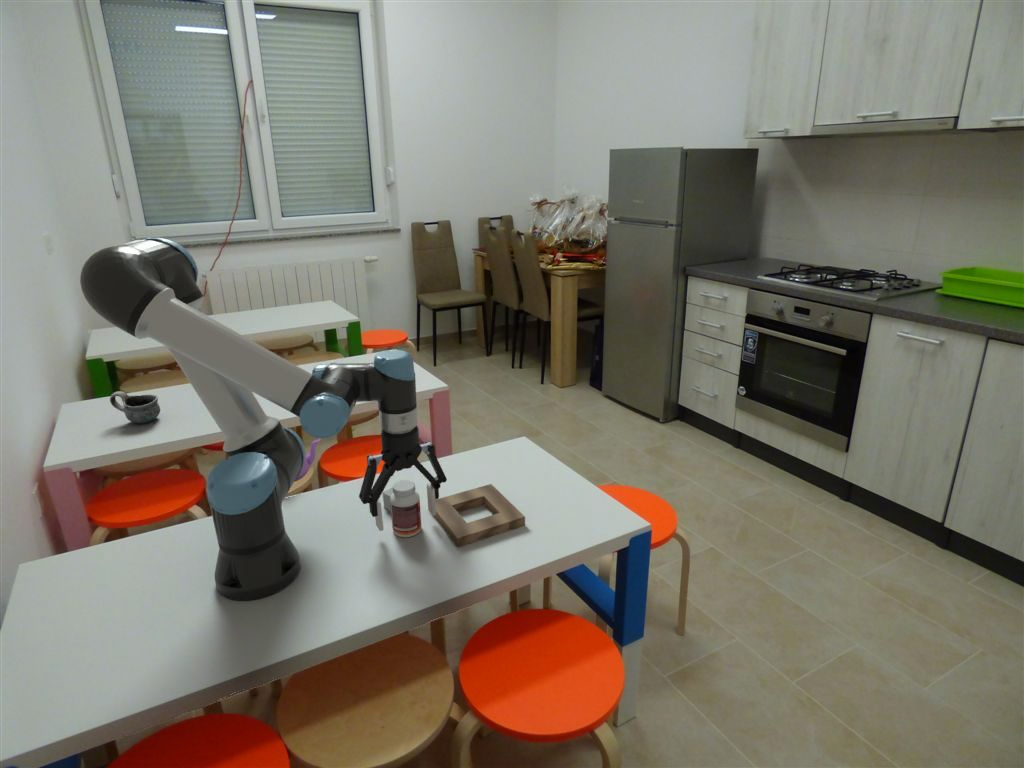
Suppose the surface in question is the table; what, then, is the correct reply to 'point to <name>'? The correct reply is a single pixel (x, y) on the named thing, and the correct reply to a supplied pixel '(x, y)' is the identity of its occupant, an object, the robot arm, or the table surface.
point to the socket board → (482, 528)
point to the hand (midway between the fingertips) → (406, 519)
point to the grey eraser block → (387, 498)
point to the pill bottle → (405, 509)
